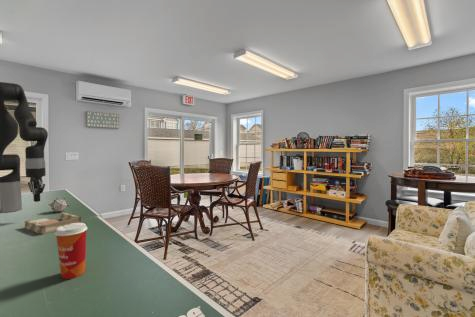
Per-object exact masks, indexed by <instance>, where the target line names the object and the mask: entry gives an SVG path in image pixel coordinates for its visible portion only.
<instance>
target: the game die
mask: <svg viewBox="0 0 475 317" xmlns="http://www.w3.org/2000/svg"><path fill="white" fill-rule="evenodd" d="M65 199H66V198H65V197H64V198H58V197H56V199H53V201H52V203H49V204H48V206H50V207H51V210H52V213H53V214H54V213H55V212H57V213H58V212H59V213H62V211H65V209H66V208H67V207H70V205H69V204H67V201H66V200H65Z"/></svg>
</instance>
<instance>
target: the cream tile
mask: <svg viewBox="0 0 475 317" xmlns="http://www.w3.org/2000/svg"><path fill="white" fill-rule="evenodd" d="M48 220H50V219H49V218H40V219H39V218H38V219H34V220H32V221H33V222H36V223H39V222H44V221H48Z"/></svg>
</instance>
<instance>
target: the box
mask: <svg viewBox="0 0 475 317" xmlns="http://www.w3.org/2000/svg"><path fill="white" fill-rule="evenodd" d="M61 212H62V211H61ZM61 212H59V219H60V220H59V221H60V222H56V223H52V224H47V225H42V224H39V223H36V222H33V221H34V220H30V219H26V220H24V229H26V230H28V231H32V232H35V233H37V234H40V235H46V234H50V233H53V232H56V230H57V228H58V227H60V226H64V225H67V224H68V225H69V224H72V223H82V216H79V215H75V214H70V213H67V212H62V213H61Z"/></svg>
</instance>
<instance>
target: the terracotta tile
mask: <svg viewBox="0 0 475 317" xmlns="http://www.w3.org/2000/svg"><path fill="white" fill-rule="evenodd" d="M60 221H61V220H57V219H55V218H54V219H49V220H48V221H44V222H39V224H42V225H47V224H52V223H56V222H60Z"/></svg>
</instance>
